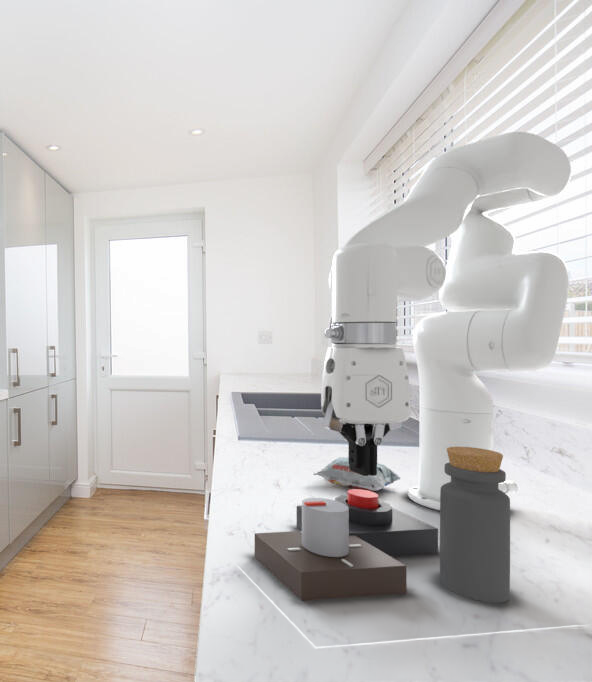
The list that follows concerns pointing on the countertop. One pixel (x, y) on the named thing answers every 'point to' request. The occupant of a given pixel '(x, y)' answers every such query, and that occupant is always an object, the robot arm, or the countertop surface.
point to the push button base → (388, 529)
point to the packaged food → (357, 476)
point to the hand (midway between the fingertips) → (362, 472)
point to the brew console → (329, 568)
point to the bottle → (475, 526)
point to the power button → (363, 499)
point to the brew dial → (325, 527)
